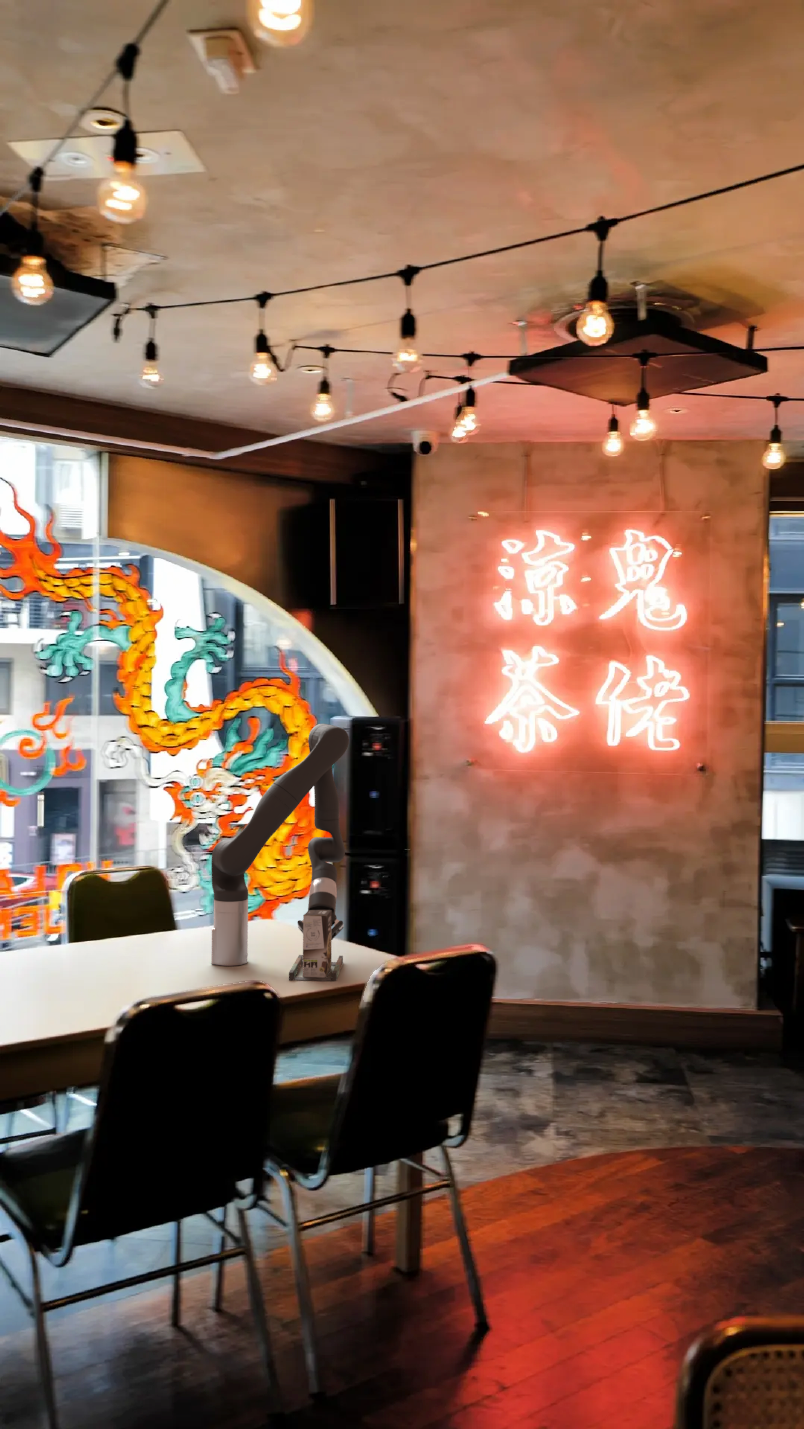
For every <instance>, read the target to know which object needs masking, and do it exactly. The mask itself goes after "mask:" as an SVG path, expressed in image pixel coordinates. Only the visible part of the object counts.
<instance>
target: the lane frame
mask: <svg viewBox="0 0 804 1429" xmlns="http://www.w3.org/2000/svg"><path fill="white" fill-rule="evenodd" d="M343 964H344V956H343V955H338V958H337V960H336V961H331V967H333V966H334V968H333V970H332V972H331V977H328V976H327V977H303V976H297V974H296V973H298V972H299V969H300V968H301V966H303V954H298V956H297V958H296V959H295V961H294V963H293V965H292V966H291V968H290V969H289V972H288V981H299V982H300V981H303V982H306V981H307V982H308V981H309V982H310V981H311V982H337V980H338V977H339V974H340V972H341V969H342V967H343Z"/></svg>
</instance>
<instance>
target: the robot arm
mask: <svg viewBox="0 0 804 1429" xmlns="http://www.w3.org/2000/svg"><path fill="white" fill-rule="evenodd" d="M307 740H308V749H309V750H308V751H309V753H308V755H307V756H306V757H305V758H304V759H302V761H300V762H299V763H298V764H297V765H295V766H294V767H292V768H290V769H289V770H287V771H286V772H284V773H283V774H282V775H280V776H279V777H278V778H277V779H275V780H274V782H273V783H272V784H271V785H270V787H268V789H267V790H266V791H265V793H264V794H263V795H262V797H261V798H260V800H259V802H258V803H257V805H256V807H255V810H254V812H253V814H252V815H251V818H250V820H249V822H248V823H247V825H246V826H245V827H244V828H243V829H242V830H241V831H240V832H239V833H238V835H236V837H234V838H233V839H231V838H230V839H228V838H227V839H223V840H220V841H218V843H216V845H214V848H213V850H212V853H211V888H212V890H213V891H212V892H213V927H212V929H211V963H210V964H211V965H217V966H226V967H227V966H228V967H229V966H240V965H245V964H247V963H248V955H249V954H248V953H249V950H248V949H249V948H248V945H249V944H248V939H249V936H248V935H249V932H248V930H249V889H248V887H247V883H246V879H245V872H246V871H248V869H250V867H251V866H252V865H253V863H254V861H255V860H256V859H257V856H258V855H259V854H260V852H261V850H262V849H263V848H264V847H265V845H266V844H267V842H268V840H269V841H270V838H271V837H272V836H273V835H274V834H275V833H276V832H277V830H279V828H280V827H281V826H282V825H283V824H284V822H285V821H286V820H287V819H288V818H289V816H291V815H292V814H293V812H294V811H295V810H296V808H297V807H298V806H299V805H300V804H301V802H302V800H304V798H305V797H306V796H307V795H308V794H309V792H310V791H311V790H312V789H314V790H313V791H314V821H313V822H314V823H313V824H314V827H315V828H316V829H318V830H320V831H325V832H327V833H329V834H330V836H331V837H324V836H323V837H320V836H319V837H317V836H316V837H313V838H311V839H310V841H309V842H308V845H307V853H308V857H309V860H310V864H311V882H310V887H309V893H308V894H309V895H308V906H307V912H308V911H309V910H332V931H331V941H332V940H334V939H335V937H336V936H337V935H338V934H339V933H340V932H342V930H343V929H344V928H345V927H344V921H343V920H339V919H337V915H336V910H337V898H338V897H337V895H338V894H337V891H338V890H337V879H338V878H337V877H338V870H337V867H336V866H335V865H334V864H333V863H339V862H341V861H343V859H344V858H345V855H346V854H345V853H346V847H345V844H344V840H343V837H342V832H341V828H340V799H339V793H338V789H337V786H336V783H335V779H334V772H333V766H334V765H335V764H336V763H337V762H338V761H339V760H340V759H341V758H342V757H343V755H344V754H345V753H346V752H347V750H348V747H349V744H350V737H349V734H348V732H347V731H346V730H345V729H344V728H342V727H340V726H337V725H332V724H329V723H319V724H316V725H315V726H313V728H312V729H311V730H310V732H309V735H308V739H307ZM297 928H298V930H299V931H300V932H301V934H303V919H302V920H298V921H297Z"/></svg>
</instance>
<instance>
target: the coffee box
mask: <svg viewBox="0 0 804 1429" xmlns="http://www.w3.org/2000/svg"><path fill="white" fill-rule="evenodd" d="M302 920H303V933H302V955H303V965H302V977H327V978H328V975H329V974H330V973H331V971H332V966H331V962H332V940H331V931H332V928H333V926H332V910H309V911H308V910H307V911H306V912H305V913H304V914H303V918H302Z"/></svg>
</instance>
